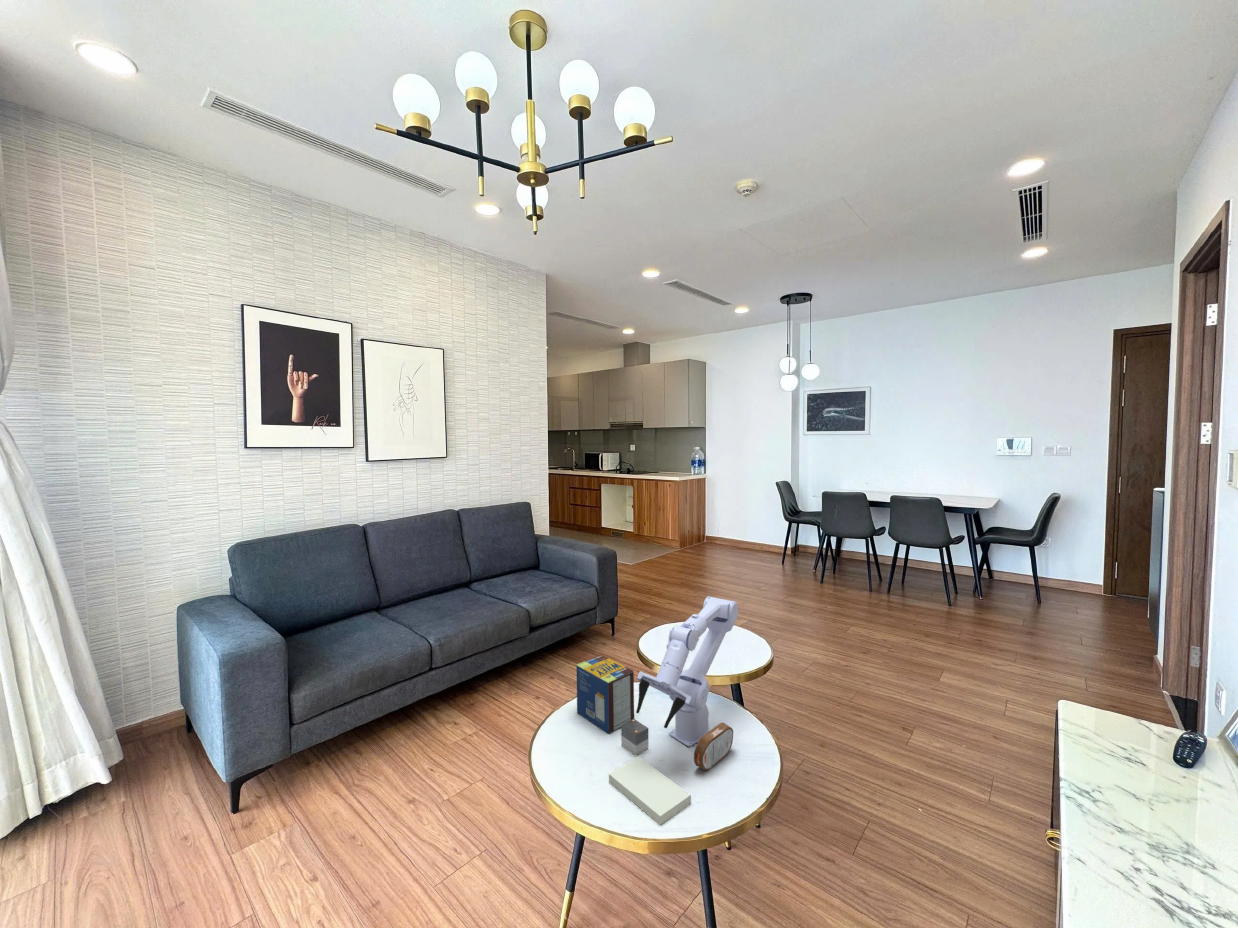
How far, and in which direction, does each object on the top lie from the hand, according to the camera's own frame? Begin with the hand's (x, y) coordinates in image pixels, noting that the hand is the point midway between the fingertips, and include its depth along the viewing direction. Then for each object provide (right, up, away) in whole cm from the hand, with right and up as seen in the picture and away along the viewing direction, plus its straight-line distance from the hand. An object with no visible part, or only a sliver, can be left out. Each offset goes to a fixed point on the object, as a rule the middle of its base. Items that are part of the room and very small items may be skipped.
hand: (651, 719), depth 125 cm
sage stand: (-1, -15, -5) cm, 16 cm away
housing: (-4, -14, +12) cm, 19 cm away
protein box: (-12, -13, +27) cm, 32 cm away
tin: (+17, -14, +6) cm, 23 cm away
